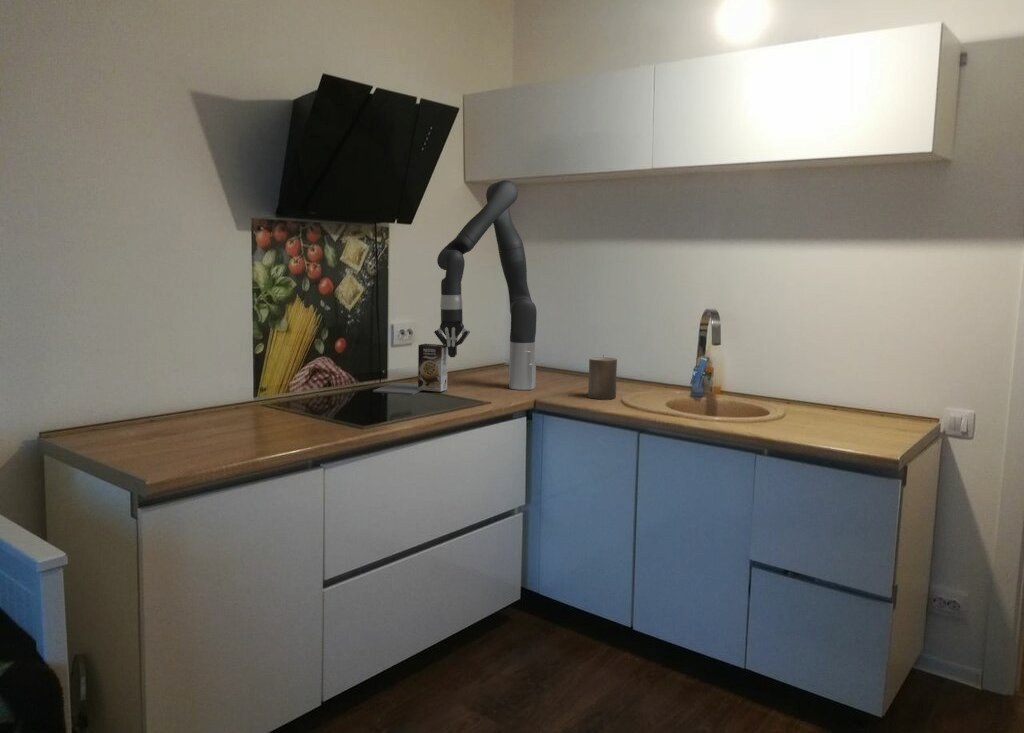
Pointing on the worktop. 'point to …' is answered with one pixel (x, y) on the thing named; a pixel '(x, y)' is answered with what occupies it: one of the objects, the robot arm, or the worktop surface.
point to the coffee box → (432, 367)
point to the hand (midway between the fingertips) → (452, 357)
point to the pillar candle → (602, 378)
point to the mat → (399, 388)
